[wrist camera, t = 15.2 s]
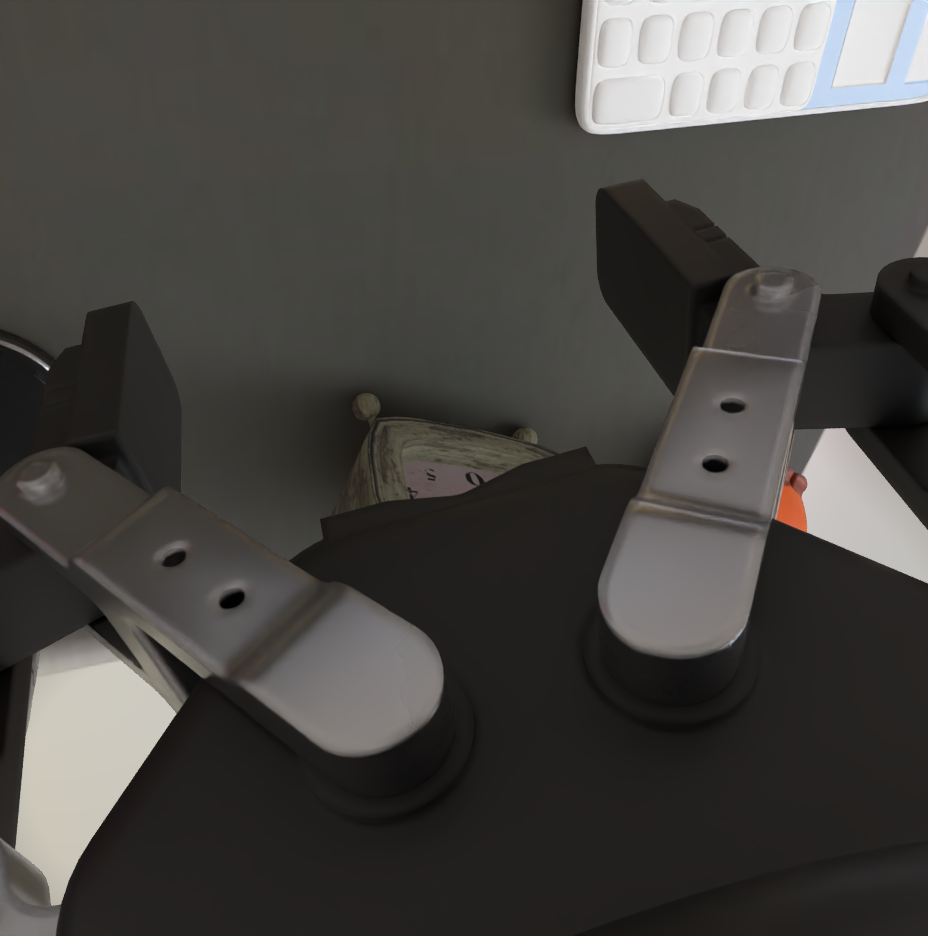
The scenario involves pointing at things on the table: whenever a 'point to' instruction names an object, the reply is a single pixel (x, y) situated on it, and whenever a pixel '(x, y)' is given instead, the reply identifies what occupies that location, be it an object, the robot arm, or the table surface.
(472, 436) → the tabletop clock
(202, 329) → the table surface
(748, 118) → the calculator
